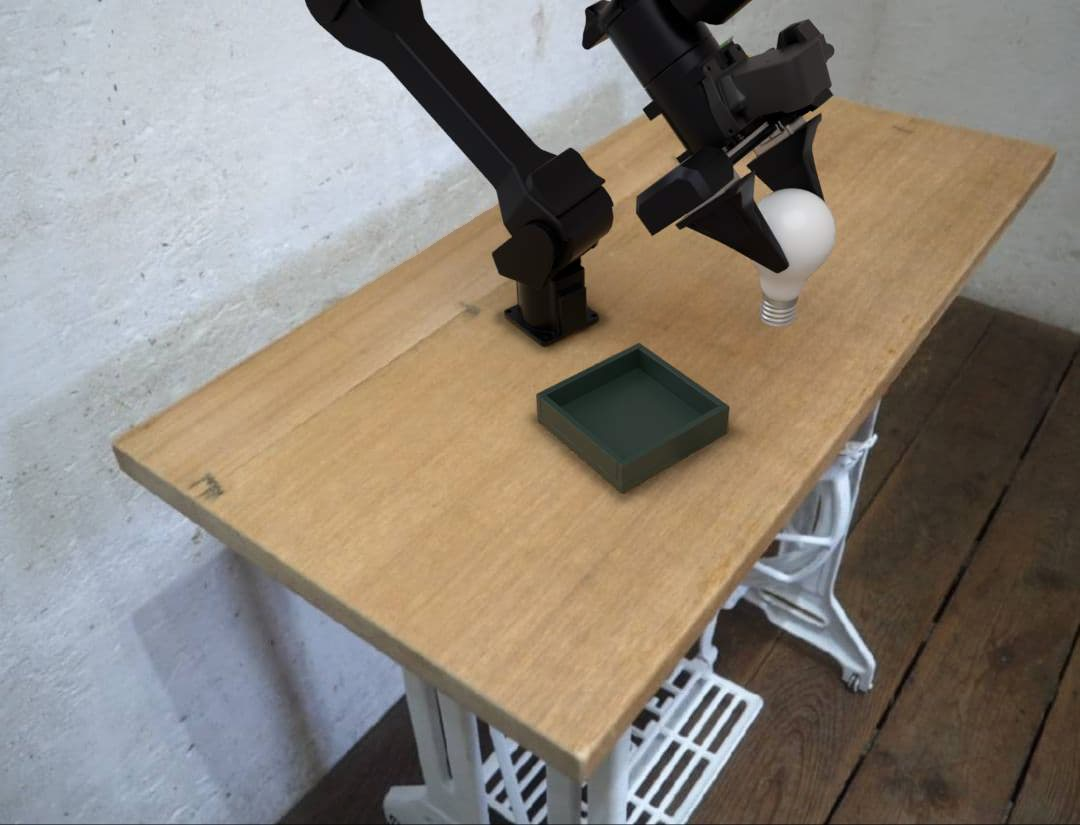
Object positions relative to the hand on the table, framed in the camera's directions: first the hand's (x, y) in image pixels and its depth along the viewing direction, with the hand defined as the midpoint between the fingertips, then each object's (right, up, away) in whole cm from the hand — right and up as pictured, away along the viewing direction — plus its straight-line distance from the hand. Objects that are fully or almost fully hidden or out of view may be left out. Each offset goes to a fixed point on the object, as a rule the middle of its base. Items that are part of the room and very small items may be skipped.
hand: (804, 248), depth 70 cm
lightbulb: (-1, -5, +5) cm, 7 cm away
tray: (-11, -13, +9) cm, 19 cm away
